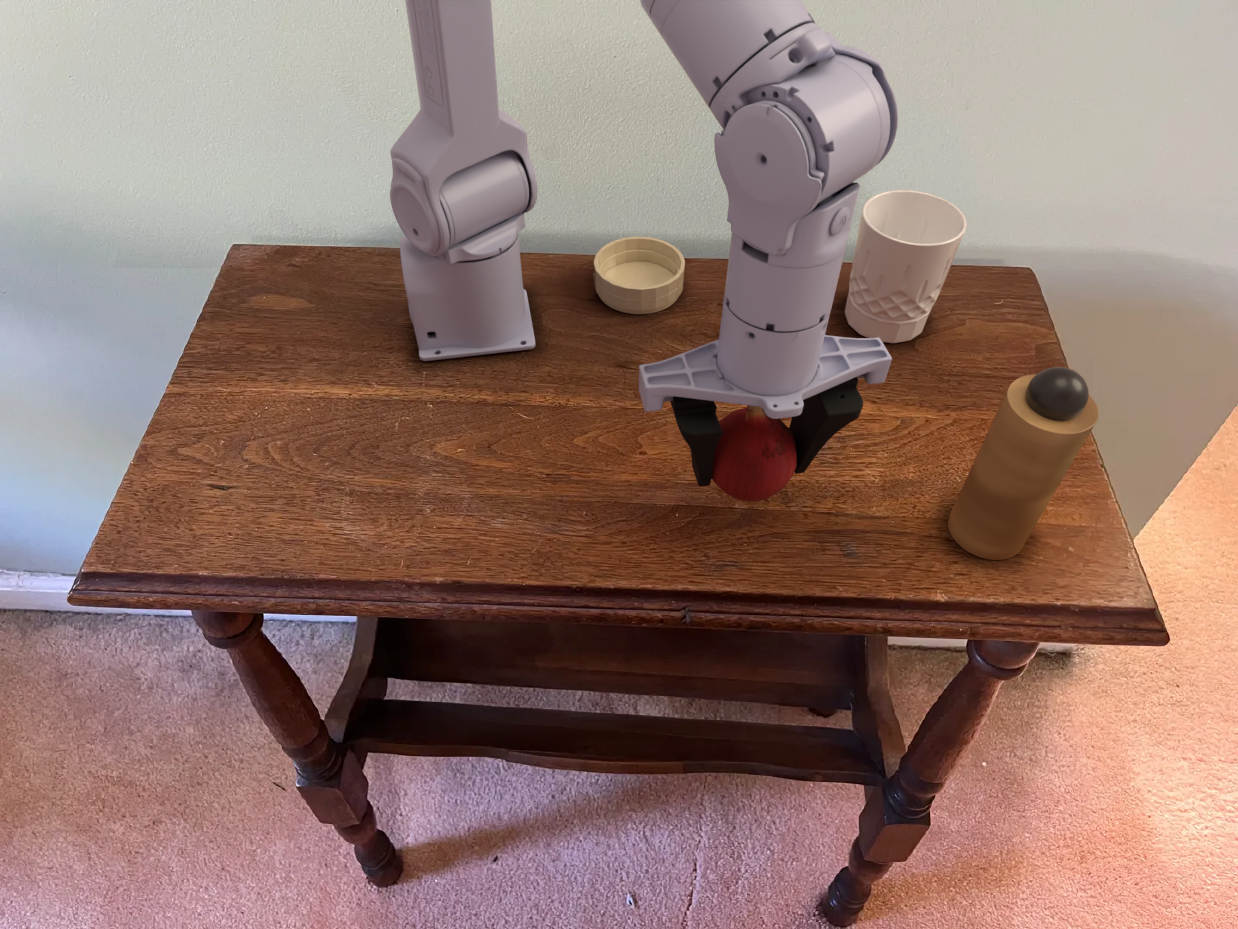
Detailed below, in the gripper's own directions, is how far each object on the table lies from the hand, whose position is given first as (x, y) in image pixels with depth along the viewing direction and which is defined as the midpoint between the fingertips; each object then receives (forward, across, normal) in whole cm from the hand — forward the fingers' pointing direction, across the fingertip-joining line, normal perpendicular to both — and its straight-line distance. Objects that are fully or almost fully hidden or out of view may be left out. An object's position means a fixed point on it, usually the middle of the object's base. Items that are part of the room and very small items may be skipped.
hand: (747, 468), depth 55 cm
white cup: (+5, +18, +18) cm, 26 cm away
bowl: (+5, -2, +26) cm, 27 cm away
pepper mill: (+4, +16, -4) cm, 17 cm away
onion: (+3, 0, 0) cm, 3 cm away
